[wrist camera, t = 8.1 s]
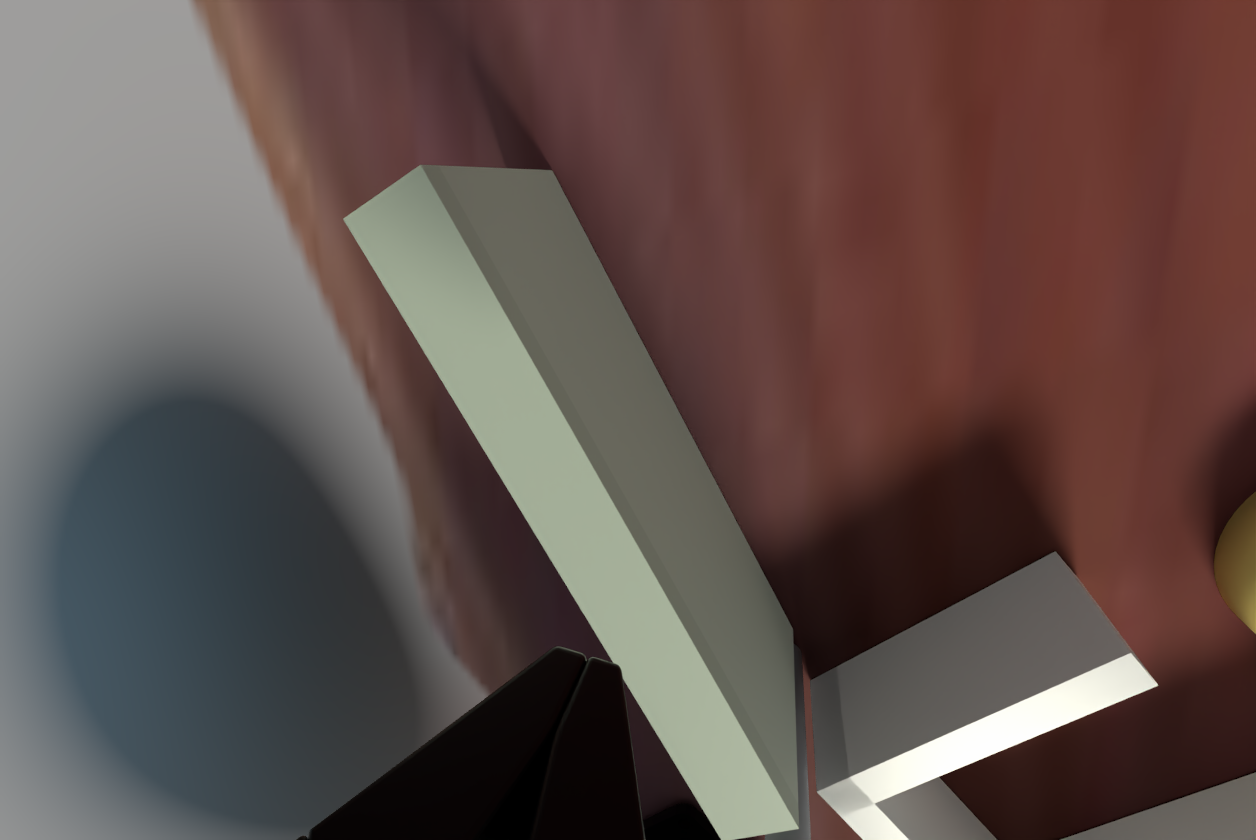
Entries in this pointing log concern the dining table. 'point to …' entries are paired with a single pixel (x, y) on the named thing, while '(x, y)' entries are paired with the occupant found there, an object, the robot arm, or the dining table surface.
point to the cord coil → (1239, 563)
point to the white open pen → (981, 714)
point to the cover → (599, 469)
